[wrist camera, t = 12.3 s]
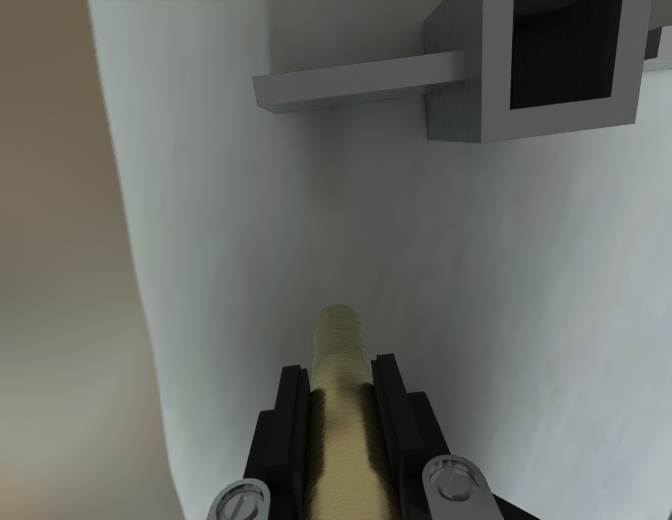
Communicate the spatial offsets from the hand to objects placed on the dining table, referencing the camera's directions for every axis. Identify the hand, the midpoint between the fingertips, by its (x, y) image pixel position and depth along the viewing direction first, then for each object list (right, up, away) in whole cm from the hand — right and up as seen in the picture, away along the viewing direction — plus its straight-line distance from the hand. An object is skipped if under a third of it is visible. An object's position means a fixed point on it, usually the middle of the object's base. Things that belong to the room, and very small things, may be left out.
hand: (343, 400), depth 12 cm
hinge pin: (0, +1, +5) cm, 5 cm away
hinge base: (+3, +14, +7) cm, 16 cm away
